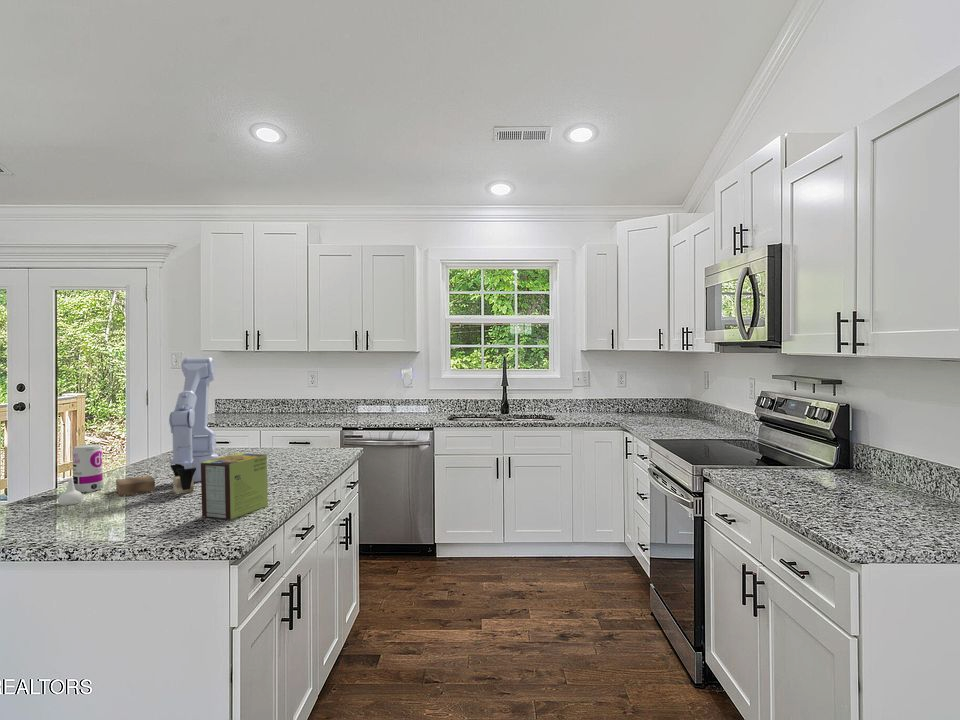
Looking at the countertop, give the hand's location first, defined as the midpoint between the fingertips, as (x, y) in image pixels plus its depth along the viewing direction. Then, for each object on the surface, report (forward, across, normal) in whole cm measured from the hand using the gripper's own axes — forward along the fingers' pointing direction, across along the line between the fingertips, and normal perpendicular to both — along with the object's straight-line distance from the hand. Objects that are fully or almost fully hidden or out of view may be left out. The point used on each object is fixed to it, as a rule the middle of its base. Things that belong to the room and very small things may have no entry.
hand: (183, 487), depth 189 cm
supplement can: (+2, -24, -24) cm, 34 cm away
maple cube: (+2, 0, 0) cm, 2 cm away
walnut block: (+2, -12, -12) cm, 17 cm away
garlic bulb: (+2, -8, -30) cm, 31 cm away
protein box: (+2, +36, +6) cm, 37 cm away
